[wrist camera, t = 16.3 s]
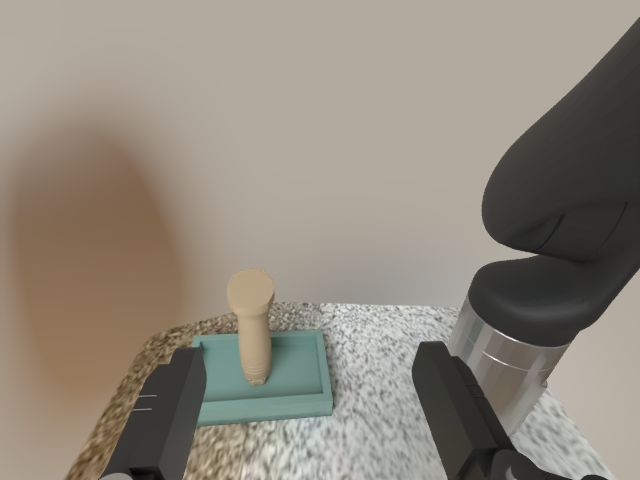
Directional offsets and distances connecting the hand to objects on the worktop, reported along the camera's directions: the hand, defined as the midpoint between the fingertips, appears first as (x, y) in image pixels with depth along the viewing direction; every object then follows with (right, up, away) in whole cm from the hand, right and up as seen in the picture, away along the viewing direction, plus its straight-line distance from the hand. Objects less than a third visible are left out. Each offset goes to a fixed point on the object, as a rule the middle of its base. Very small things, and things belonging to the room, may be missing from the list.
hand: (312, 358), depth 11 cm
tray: (-8, -14, +29) cm, 34 cm away
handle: (-8, -14, +29) cm, 33 cm away
